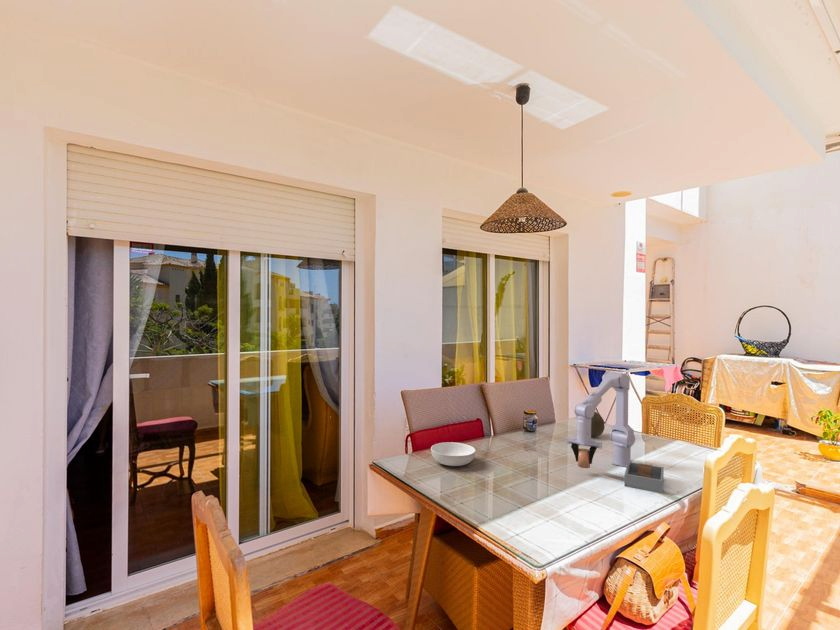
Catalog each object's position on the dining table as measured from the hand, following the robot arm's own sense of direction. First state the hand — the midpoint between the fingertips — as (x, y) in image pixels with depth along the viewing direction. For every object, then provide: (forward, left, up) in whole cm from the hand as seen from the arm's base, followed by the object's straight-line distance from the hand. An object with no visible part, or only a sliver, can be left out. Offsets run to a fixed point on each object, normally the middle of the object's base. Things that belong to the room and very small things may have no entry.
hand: (583, 462), depth 188 cm
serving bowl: (+18, -55, -6) cm, 58 cm away
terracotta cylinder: (0, 0, -2) cm, 2 cm away
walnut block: (-7, +23, -4) cm, 25 cm away
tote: (-4, +23, -5) cm, 24 cm away
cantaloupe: (-63, -7, -6) cm, 64 cm away
